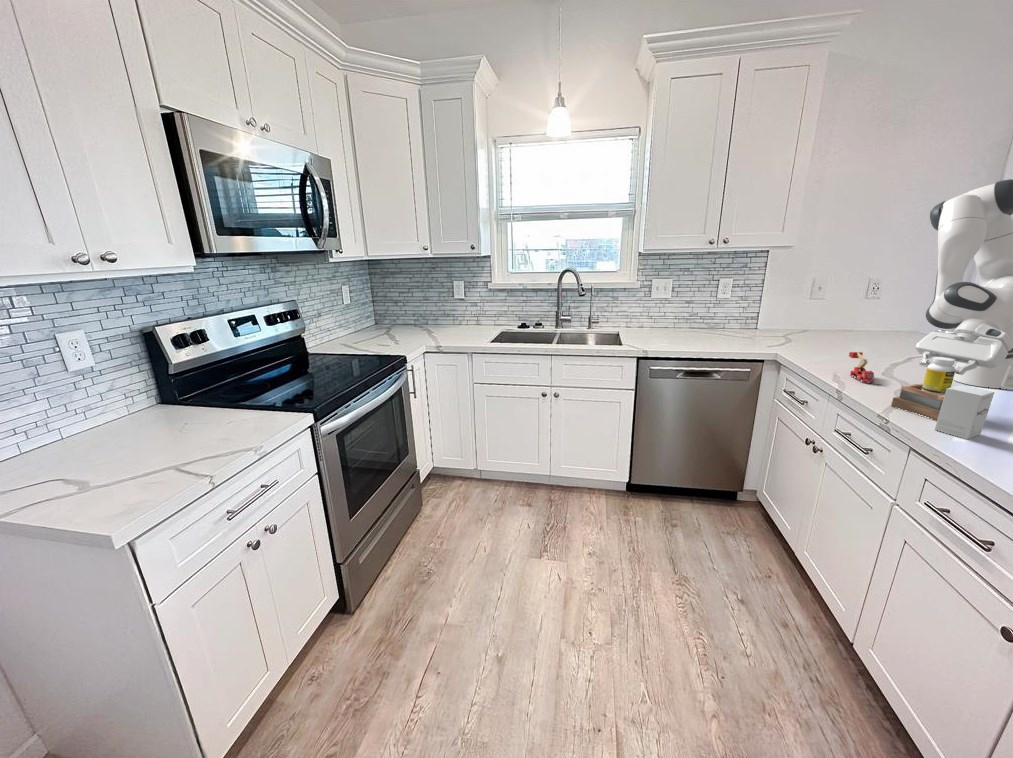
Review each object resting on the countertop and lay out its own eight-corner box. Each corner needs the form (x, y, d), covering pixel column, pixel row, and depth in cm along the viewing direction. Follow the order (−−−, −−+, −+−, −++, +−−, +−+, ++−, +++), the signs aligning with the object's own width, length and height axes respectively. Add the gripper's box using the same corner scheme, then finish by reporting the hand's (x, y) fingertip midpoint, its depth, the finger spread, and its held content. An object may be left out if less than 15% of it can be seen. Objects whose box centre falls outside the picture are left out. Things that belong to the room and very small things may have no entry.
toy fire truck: (863, 384, 164) (869, 359, 161) (844, 373, 177) (849, 350, 174) (873, 384, 164) (879, 359, 161) (853, 374, 176) (859, 350, 174)
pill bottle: (943, 397, 131) (953, 362, 128) (917, 392, 136) (926, 357, 133) (952, 394, 134) (962, 359, 131) (926, 388, 139) (935, 355, 136)
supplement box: (968, 440, 117) (982, 395, 114) (933, 430, 124) (945, 387, 120) (982, 435, 120) (996, 391, 116) (947, 425, 127) (959, 384, 123)
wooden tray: (922, 402, 144) (928, 381, 142) (970, 416, 132) (977, 394, 130) (891, 406, 142) (896, 385, 140) (936, 421, 130) (943, 398, 128)
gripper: (931, 322, 141) (899, 354, 141) (1013, 334, 121) (976, 371, 122) (938, 335, 143) (907, 366, 144) (1020, 349, 124) (984, 385, 124)
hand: (939, 368), depth 133 cm, fingers open, 8 cm apart
